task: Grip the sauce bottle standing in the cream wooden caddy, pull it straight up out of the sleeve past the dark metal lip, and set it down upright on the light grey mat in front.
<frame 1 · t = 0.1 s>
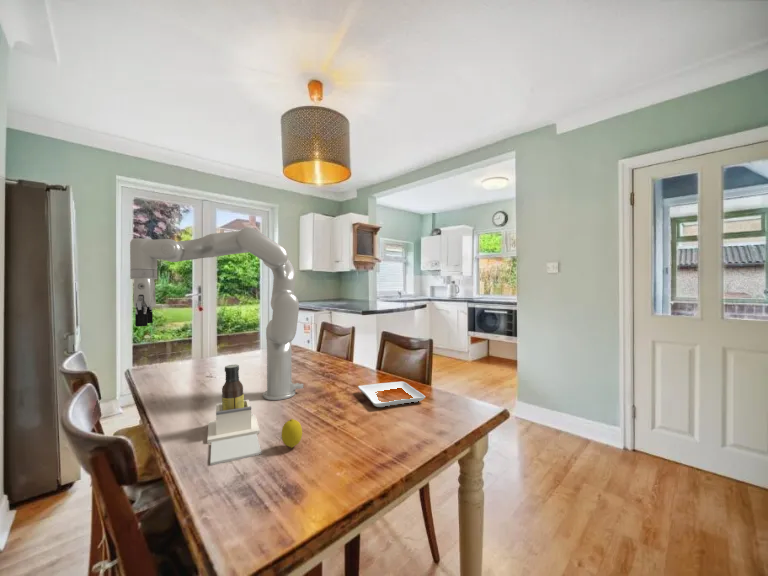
hand: (144, 324, 114), 31 cm above the table, tool pointing down, fingers open, 9 cm apart
salad plate: (390, 399, 131), on the table
lemon: (291, 448, 92), on the table
sauce bottle: (233, 429, 103), resting in caddy
mat: (235, 449, 91), on the table
caddy: (233, 429, 103), on the table
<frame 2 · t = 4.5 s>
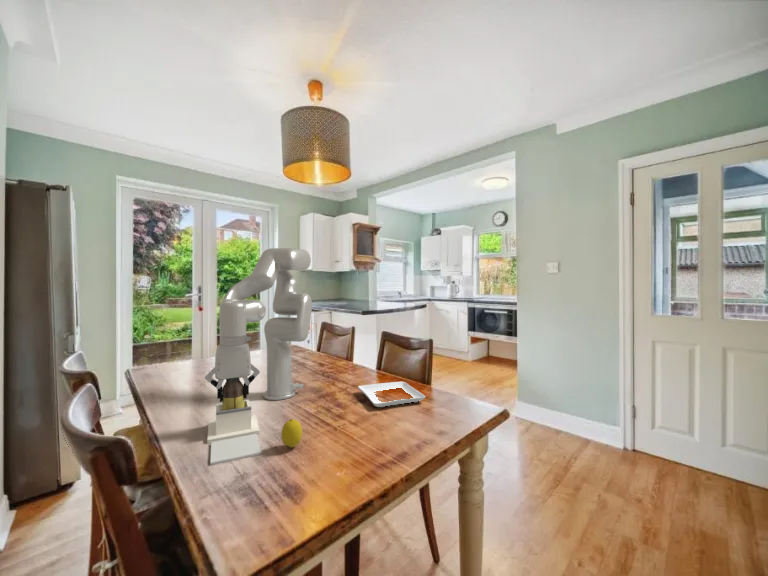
hand: (233, 398, 103), 10 cm above the table, tool pointing down, fingers closed on sauce bottle, 6 cm apart
sauce bottle: (233, 429, 103), resting in caddy, touching gripper
everything else where it was.
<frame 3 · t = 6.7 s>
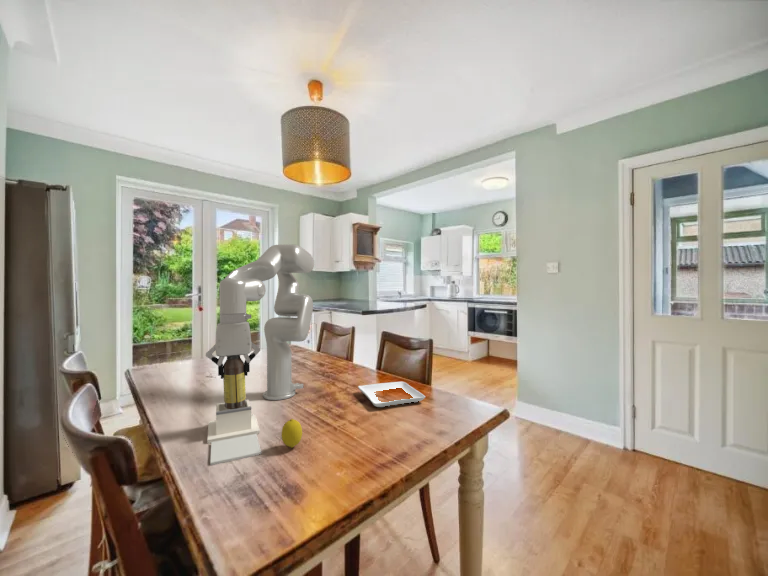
hand: (234, 375, 103), 17 cm above the table, tool pointing down, fingers closed on sauce bottle, 6 cm apart
sauce bottle: (234, 406, 104), point 7 cm above the table, touching gripper
everything else where it was.
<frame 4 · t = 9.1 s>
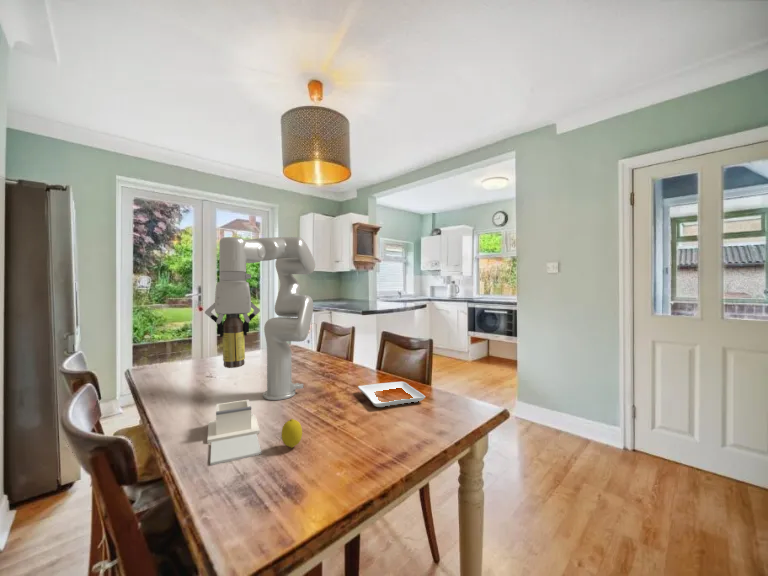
hand: (233, 335, 103), 29 cm above the table, tool pointing down, fingers closed on sauce bottle, 6 cm apart
sauce bottle: (233, 366, 103), point 20 cm above the table, touching gripper
everything else where it was.
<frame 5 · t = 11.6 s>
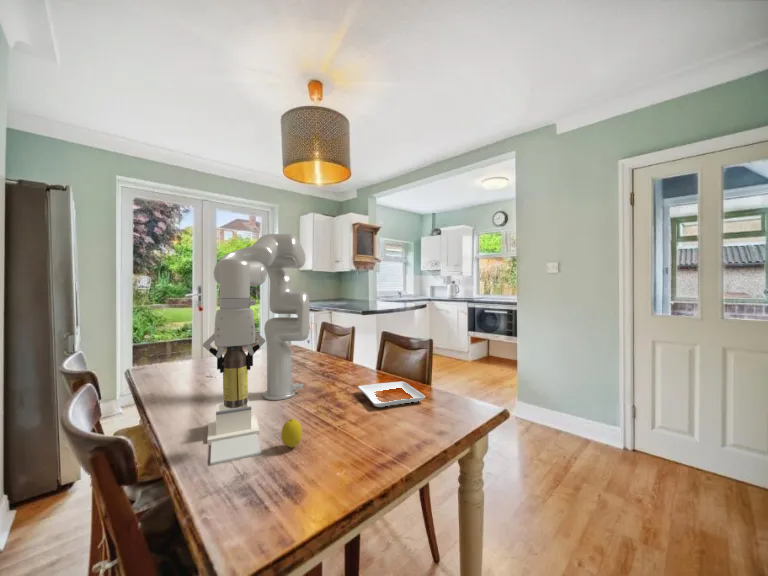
hand: (235, 369, 90), 22 cm above the table, tool pointing down, fingers closed on sauce bottle, 6 cm apart
sauce bottle: (235, 405, 90), point 12 cm above the table, touching gripper
everything else where it was.
when the fingers open (11 cm above the table, at t = 13.9 s): sauce bottle drops 1 cm, resting on mat.
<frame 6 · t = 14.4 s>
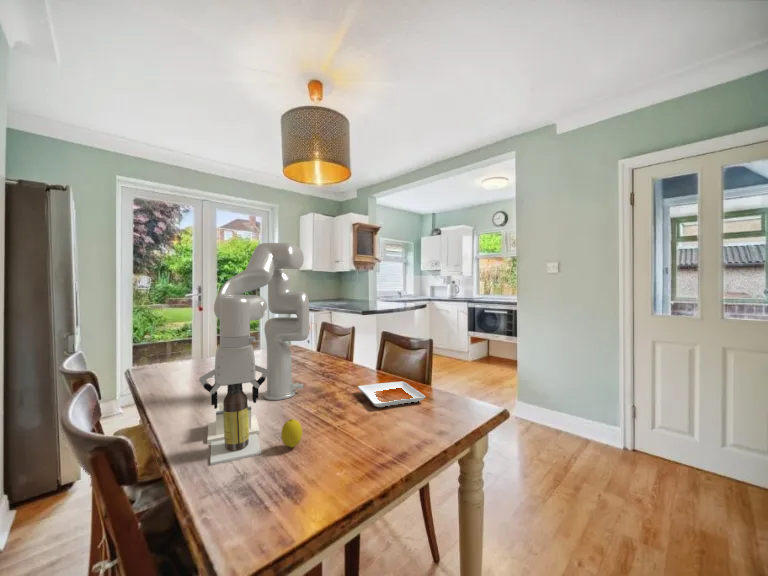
hand: (235, 404, 90), 12 cm above the table, tool pointing down, fingers open, 9 cm apart
sauce bottle: (236, 446, 91), resting on mat
everything else where it was.
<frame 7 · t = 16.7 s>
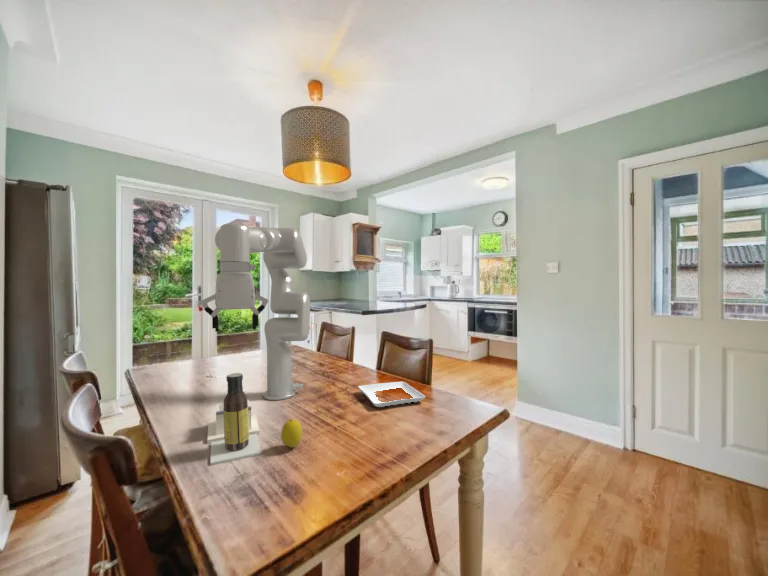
hand: (235, 329, 93), 32 cm above the table, tool pointing down, fingers open, 9 cm apart
nothing on the table moved.
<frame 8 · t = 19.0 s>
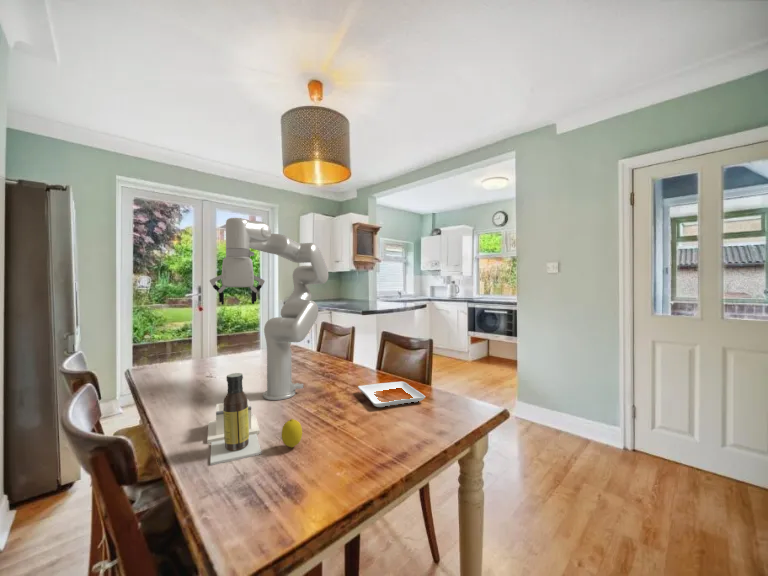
hand: (238, 304, 114), 38 cm above the table, tool pointing down, fingers open, 9 cm apart
nothing on the table moved.
at the end: sauce bottle inside the target area on the mat (0.4 cm from its centre), point 0.4 cm above the mat's base; sauce bottle tilted 0°; the gripper is holding nothing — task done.
